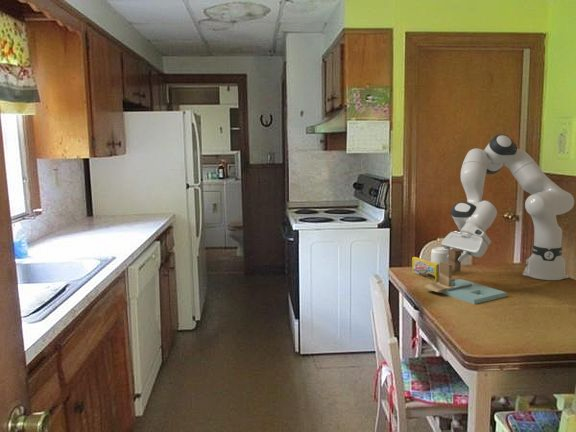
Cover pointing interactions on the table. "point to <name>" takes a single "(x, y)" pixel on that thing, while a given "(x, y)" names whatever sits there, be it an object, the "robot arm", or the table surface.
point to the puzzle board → (472, 292)
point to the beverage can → (439, 255)
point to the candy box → (425, 269)
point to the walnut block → (454, 259)
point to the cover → (442, 279)
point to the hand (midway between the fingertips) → (453, 259)
